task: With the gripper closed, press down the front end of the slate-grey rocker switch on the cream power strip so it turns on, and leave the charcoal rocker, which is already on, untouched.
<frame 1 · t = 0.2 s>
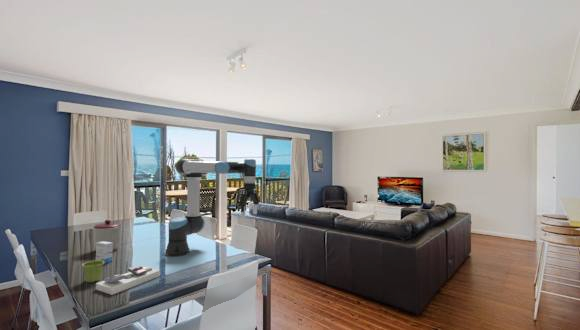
hand: (249, 215, 185), 28 cm above the table, tool pointing down, fingers open, 13 cm apart
charcoal rocker: (137, 270, 148), point 5 cm above the table, hinge at 10.0°
power strip: (130, 282, 144), on the table
ink box: (104, 261, 175), on the table
plant pot: (93, 280, 146), on the table
canister: (107, 250, 199), on the table
slate rocker: (114, 278, 137), point 5 cm above the table, hinge at -10.0°
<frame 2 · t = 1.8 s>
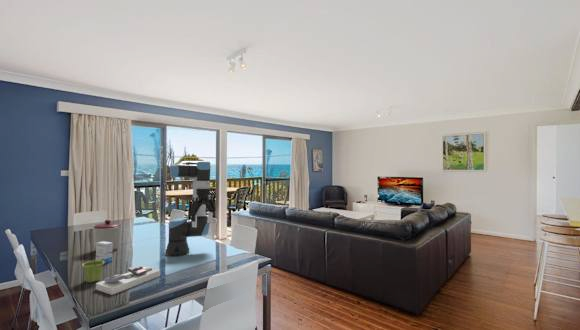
hand: (202, 225, 164), 26 cm above the table, tool pointing down, fingers open, 13 cm apart
nothing on the table moved.
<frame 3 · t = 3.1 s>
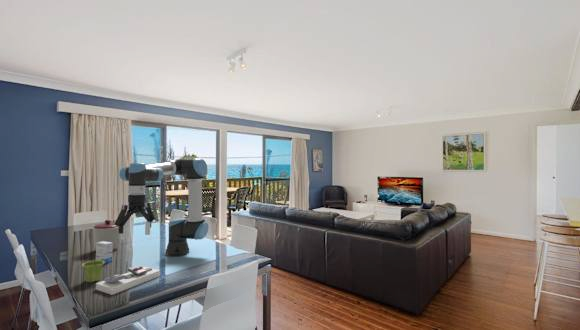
hand: (135, 237, 141), 24 cm above the table, tool pointing down, fingers open, 13 cm apart
nothing on the table moved.
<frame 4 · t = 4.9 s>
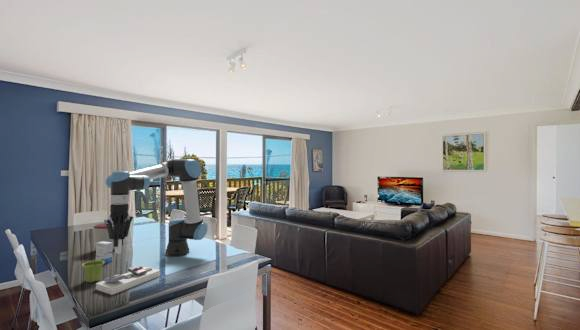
hand: (118, 252, 136), 17 cm above the table, tool pointing down, fingers closed
nothing on the table moved.
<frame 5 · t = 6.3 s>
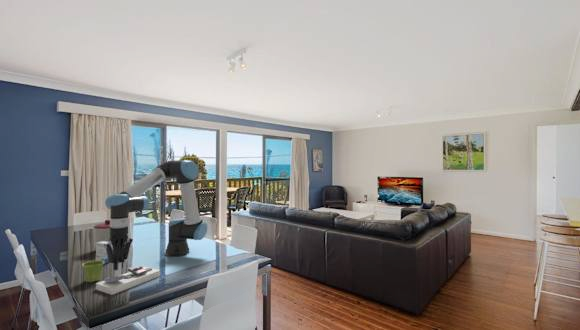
hand: (117, 276, 136), 6 cm above the table, tool pointing down, fingers closed
slate rocker: (114, 278, 137), point 5 cm above the table, hinge at -10.0°, touching gripper
everything else where it was.
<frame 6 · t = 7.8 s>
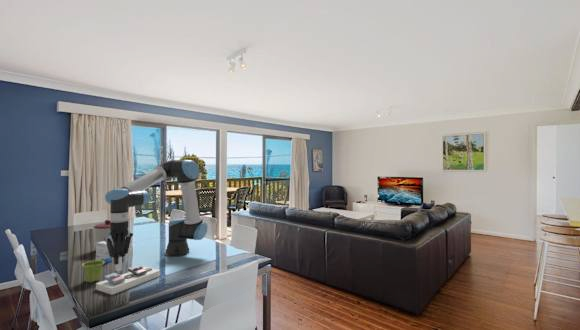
hand: (118, 270, 136), 9 cm above the table, tool pointing down, fingers closed
slate rocker: (114, 278, 137), point 5 cm above the table, hinge at 9.5°
everything else where it was.
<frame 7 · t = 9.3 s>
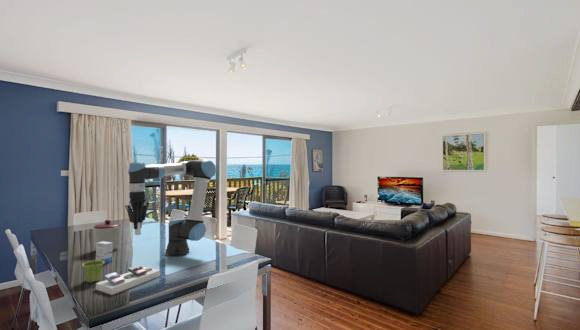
hand: (137, 234, 154), 22 cm above the table, tool pointing down, fingers closed
slate rocker: (114, 278, 137), point 5 cm above the table, hinge at 13.9°
everything else where it was.
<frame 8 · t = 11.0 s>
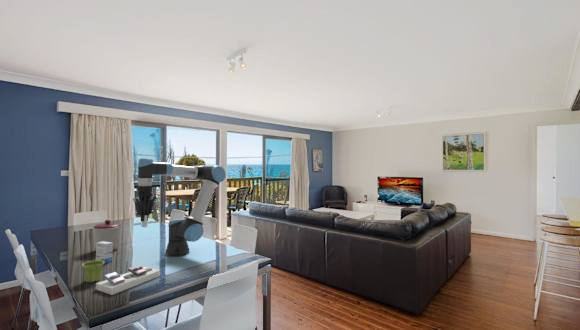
hand: (144, 226, 162), 24 cm above the table, tool pointing down, fingers closed
slate rocker: (114, 278, 137), point 5 cm above the table, hinge at 16.0°, touching power strip
everything else where it was.
at the end: slate rocker at +16° (first picture: -10°); charcoal rocker at +10° (first picture: +10°) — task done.
